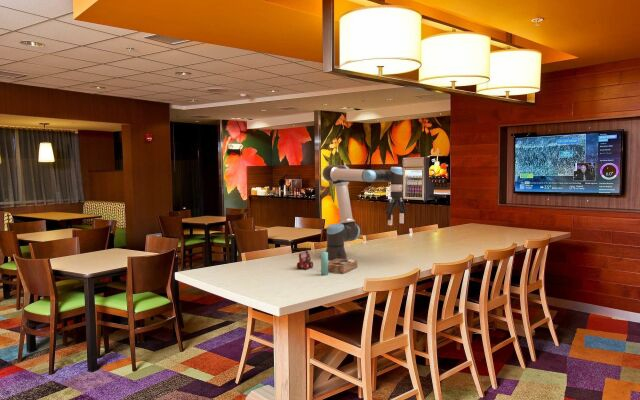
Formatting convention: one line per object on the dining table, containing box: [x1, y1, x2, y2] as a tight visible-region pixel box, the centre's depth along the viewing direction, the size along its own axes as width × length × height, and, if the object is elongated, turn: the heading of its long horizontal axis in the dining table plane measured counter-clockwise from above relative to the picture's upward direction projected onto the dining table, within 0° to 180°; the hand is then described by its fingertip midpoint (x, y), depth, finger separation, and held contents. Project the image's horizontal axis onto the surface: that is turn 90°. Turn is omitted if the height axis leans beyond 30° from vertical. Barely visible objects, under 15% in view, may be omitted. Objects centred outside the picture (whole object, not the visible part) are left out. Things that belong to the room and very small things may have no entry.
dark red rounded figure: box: [296, 250, 314, 271], centre depth 296 cm, size 7×12×10 cm, turn 151°
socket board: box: [328, 259, 358, 275], centre depth 292 cm, size 14×20×5 cm
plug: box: [320, 251, 329, 276], centre depth 277 cm, size 4×4×13 cm
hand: (395, 224), depth 308 cm, fingers open, 13 cm apart
